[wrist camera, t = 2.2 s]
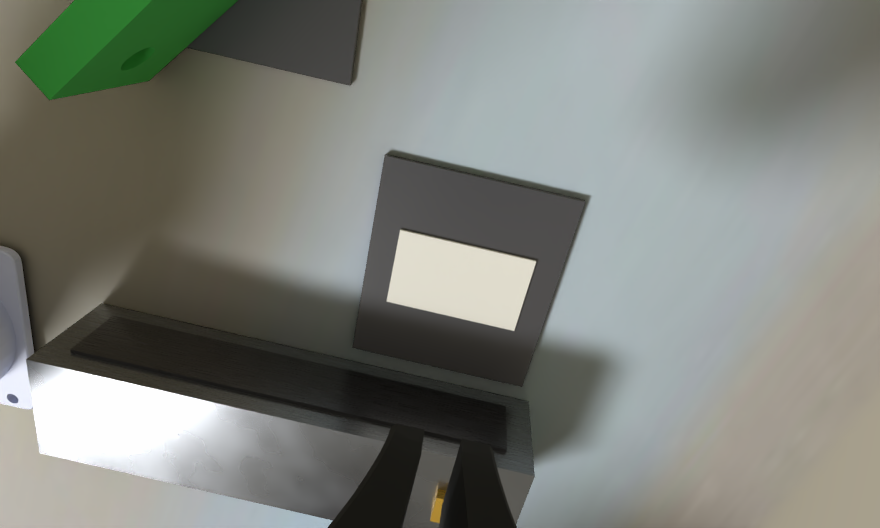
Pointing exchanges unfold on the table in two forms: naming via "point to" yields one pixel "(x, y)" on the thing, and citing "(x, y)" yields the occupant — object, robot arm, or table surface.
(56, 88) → the pipe clamp
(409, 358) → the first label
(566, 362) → the table surface
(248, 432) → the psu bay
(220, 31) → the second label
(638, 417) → the table surface
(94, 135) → the table surface
